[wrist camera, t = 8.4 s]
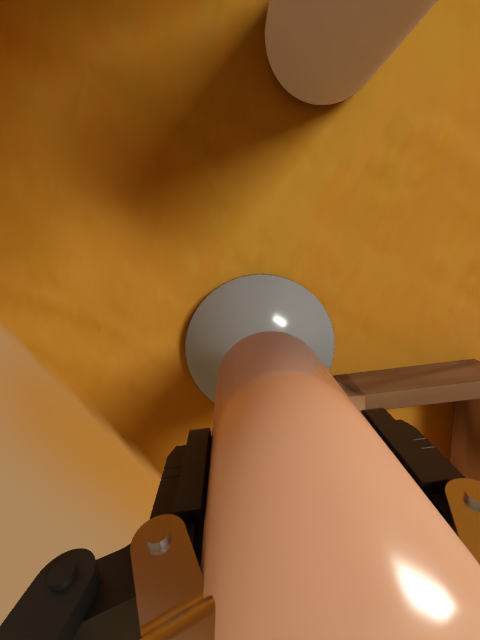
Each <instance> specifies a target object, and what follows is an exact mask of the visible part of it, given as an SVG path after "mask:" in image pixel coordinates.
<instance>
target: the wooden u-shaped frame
mask: <svg viewBox="0 0 480 640" xmlns="http://www.w3.org/2000/svg"><path fill="white" fill-rule="evenodd" d="M333 377H334V379H335V380H336V381H337V382H338V384H339V385H340V386H341V387H342V389H343V390H344V391H345V393H346V394H347V395H348V396H349V398H350V399H351V400H352V402H353V403H354V404H355V405H356V407H357V408H358V409H359V411H360V412H361V410H365V409H374V408H384V409H385V410H386V409H394V408H403V407H411V406H419V405H428V404H436V403H445V402H453V401H455V403H454V416H453V428H452V441H451V454H450V462H451V463H452V464H453V465H454V466H455V467H456V468H457V469H458V470H459V471H460V472H461V473H462V474H463V475H464V476H465V477H466V478H467V479H473V480H477V481H480V361H477V360H475V359H470V360H462V361H453V362H445V363H436V364H428V365H419V366H411V367H403V368H394V369H386V370H377V371H369V372H360V373H352V374H343V375H335V376H333Z"/></svg>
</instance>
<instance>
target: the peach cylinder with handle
mask: <svg viewBox="0 0 480 640" xmlns="http://www.w3.org/2000/svg"><path fill="white" fill-rule="evenodd" d="M200 570H201V573H202V575H203V578H204V589H203V597H204V598H206V597H207V596H209V595H212V596H213V598H214V600H215V609H216V612H215V640H480V565H479V564H478V562H477V560H476V559H475V558H474V556H473V555H472V554H471V553H470V551H469V550H468V549H467V548H466V546H465V545H464V544H463V542H462V541H461V540H460V539H459V537H458V536H457V535H456V533H455V532H454V531H453V530H452V528H451V527H450V526H449V524H448V523H447V522H446V521H445V519H444V518H443V517H442V516H441V514H440V513H439V512H438V510H437V509H436V508H435V507H434V505H433V504H432V503H431V501H430V500H429V499H428V498H427V496H426V495H425V494H424V492H423V491H422V490H421V489H420V487H419V486H418V485H417V484H416V482H415V481H414V480H413V478H412V477H411V476H410V475H409V473H408V472H407V471H406V469H405V468H404V467H403V466H402V464H401V463H400V462H399V460H398V459H397V458H396V457H395V455H394V454H393V453H392V452H391V450H390V449H389V448H388V446H387V445H386V444H385V443H384V441H383V440H382V439H381V437H380V436H379V435H378V434H377V432H376V431H375V430H374V428H373V427H372V426H371V425H370V423H369V422H368V421H367V419H366V418H365V417H364V416H363V414H362V413H361V412H360V411H359V409H358V408H357V407H356V405H355V404H354V403H353V402H352V400H351V399H350V398H349V396H348V395H347V394H346V393H345V391H344V390H343V389H342V387H341V386H340V385H339V384H338V382H337V381H336V380H335V379H334V377H333V376H332V375H331V373H330V372H329V371H328V370H327V368H326V367H325V366H324V364H323V363H322V362H321V361H320V359H319V358H318V357H317V355H316V354H315V353H314V352H313V350H312V349H311V348H310V347H309V346H308V345H307V344H306V343H305V342H303V341H302V340H300V339H299V338H297V337H295V336H293V335H290V334H287V333H283V332H277V331H265V332H259V333H255V334H252V335H250V336H247V337H245V338H243V339H242V340H240V341H239V342H237V343H236V344H235V345H234V346H232V347H231V349H230V350H229V351H228V352H227V353H226V355H225V356H224V358H223V360H222V361H221V364H220V366H219V369H218V374H217V382H216V394H215V405H214V417H213V428H212V440H211V451H210V462H209V474H208V485H207V497H206V508H205V520H204V531H203V543H202V554H201V565H200Z"/></svg>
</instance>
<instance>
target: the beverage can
mask: <svg viewBox="0 0 480 640" xmlns="http://www.w3.org/2000/svg"><path fill="white" fill-rule="evenodd" d="M437 1H438V0H269V5H268V11H267V17H266V24H265V45H266V52H267V56H268V60H269V63H270V66H271V68H272V71H273V73H274V75H275V76H276V78H277V80H278V81H279V83H280V84H281V85H282V86H283V87H284V88H285V90H286V91H288V92H289V93H290V94H291V95H292V96H294V97H295V98H297V99H299V100H301V101H303V102H306V103H309V104H313V105H330V104H335V103H338V102H341V101H344V100H346V99H347V98H349V97H351V96H353V95H354V94H355V93H357V92H358V91H359V90H360V89H361V88H362V87H363V86H364V85H365V84H366V83H367V82H368V81H369V80H370V79H371V77H372V76H373V75H374V74H375V73H376V72H377V70H378V69H379V68H380V67H381V66H382V65H383V64H384V62H385V61H386V60H387V59H388V58H389V57H390V55H391V54H392V53H393V52H394V51H395V50H396V48H397V47H398V46H399V45H400V44H401V43H402V41H403V40H404V39H405V38H406V37H407V36H408V35H409V33H410V32H411V31H412V30H413V29H414V28H415V26H416V25H417V24H418V23H419V22H420V21H421V19H422V18H423V17H424V16H425V15H426V14H427V12H428V11H429V10H430V9H431V8H432V7H433V6H434V4H435V3H436V2H437Z"/></svg>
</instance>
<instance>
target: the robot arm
mask: <svg viewBox="0 0 480 640" xmlns="http://www.w3.org/2000/svg"><path fill="white" fill-rule="evenodd" d="M361 413H362V414H363V416H364V417H365V418H366V419H367V421H368V422H369V423H370V425H371V426H372V427H373V428H374V430H375V431H376V432H377V434H378V435H379V436H380V437H381V439H382V440H383V441H384V443H385V444H386V445H387V446H388V448H389V449H390V450H391V452H392V453H393V454H394V455H395V457H396V458H397V459H398V460H399V462H400V463H401V464H402V466H403V467H404V468H405V469H406V471H407V472H408V473H409V475H410V476H411V477H412V478H413V480H414V481H415V482H416V484H417V485H418V486H419V487H420V489H421V490H422V491H423V492H424V494H425V495H426V496H427V498H428V499H429V500H430V501H431V503H432V504H433V505H434V507H435V508H436V509H437V510H438V512H439V513H440V514H441V516H442V517H443V518H444V519H445V521H446V522H447V523H448V524H449V526H450V527H451V528H452V530H453V531H454V532H455V533H456V535H457V536H458V537H459V539H460V540H461V541H462V542H463V544H464V545H465V546H466V548H467V549H468V550H469V551H470V553H471V554H472V555H473V556H474V558H475V559H476V560H477V562H478V564H479V565H480V481H477V480H473V479H467V478H466V477H465V476H464V475H463V474H462V473H461V472H460V471H459V470H458V469H457V468H456V467H455V466H454V465H453V464H452V463H451V462H450V461H448V460H447V459H446V458H445V457H444V456H443V455H442V454H441V453H440V452H439V451H438V450H437V449H436V448H434V446H433V445H432V444H431V443H430V442H429V441H428V440H426V439H425V437H424V436H423V435H422V434H421V433H420V432H419V431H418V430H417V429H416V428H415V427H413V426H412V425H410V424H408V423H406V422H404V421H402V420H395V419H394V418H393V417H392V416H391V415H390V414H389V413H388V412H387V411H386V410H385V409H384V408H374V409H365V410H361ZM211 440H212V436H211V430H210V428H204V429H196V430H190V431H189V435H188V440H187V445H183V446H176V447H175V448H174V450H173V451H172V452H171V453H170V454H169V456H168V457H167V460H166V464H165V467H164V471H163V474H162V478H161V481H160V485H159V488H158V492H157V495H156V499H155V502H154V506H153V510H152V513H151V517H150V520H148V521H147V522H145V523H144V524H143V525H142V526H141V527H140V528H139V529H138V530H137V532H136V533H135V535H134V537H133V539H132V542H131V544H129V545H128V546H126V547H125V548H123V549H121V550H118V551H116V552H114V553H111V554H109V555H107V556H104V557H102V558H100V559H98V560H95V557H94V555H93V553H92V552H91V551H89V550H87V549H73V550H70V551H67V552H65V553H63V554H61V555H60V556H58V557H56V558H55V559H53V560H52V561H51V562H50V563H48V564H47V565H46V566H45V567H44V568H43V569H42V570H41V571H40V573H39V574H38V575H37V576H36V578H35V579H34V581H33V582H32V583H31V585H30V586H29V587H28V589H27V590H26V592H25V593H24V594H23V596H22V597H21V598H20V600H19V601H18V603H17V604H16V605H15V607H14V608H13V609H12V611H11V612H10V614H9V615H8V616H7V618H6V619H5V620H4V622H3V623H2V625H1V626H0V640H215V612H216V609H215V600H214V598H213V596H212V595H209V596H207V597H206V598H204V597H203V589H204V578H203V575H202V573H201V570H200V565H201V554H202V543H203V531H204V520H205V508H206V497H207V485H208V474H209V462H210V451H211Z"/></svg>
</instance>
